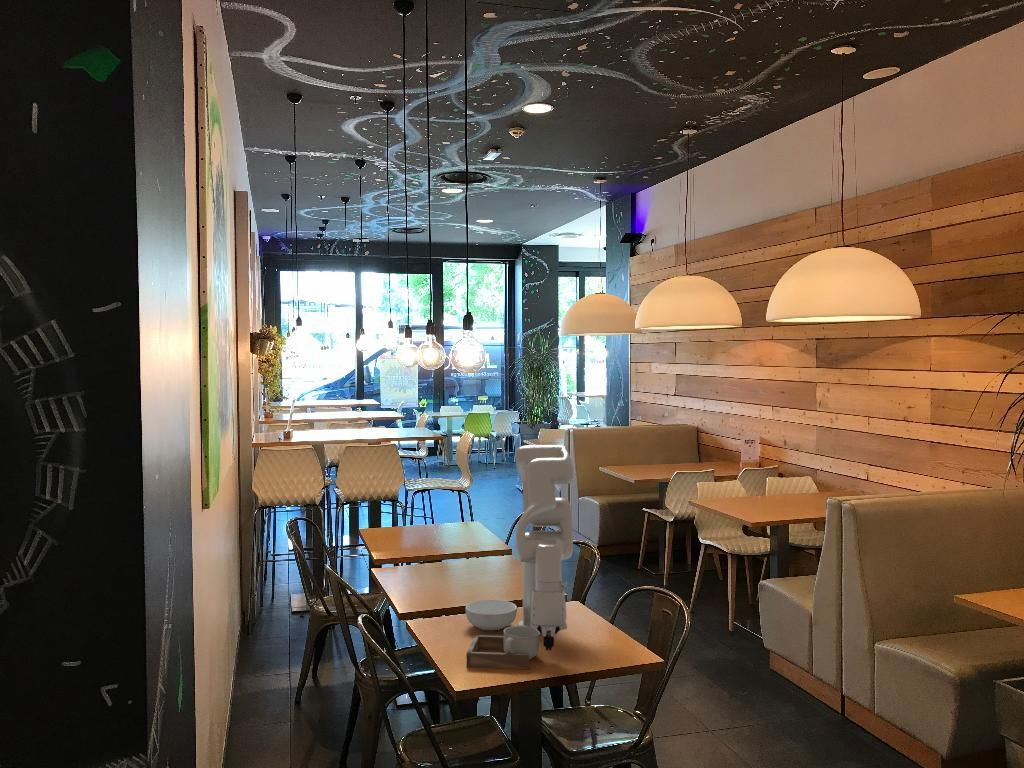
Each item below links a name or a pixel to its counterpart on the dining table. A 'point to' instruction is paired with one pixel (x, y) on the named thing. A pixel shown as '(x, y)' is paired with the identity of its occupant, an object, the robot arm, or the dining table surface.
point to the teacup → (521, 640)
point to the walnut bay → (494, 654)
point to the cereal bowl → (491, 614)
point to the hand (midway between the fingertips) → (548, 648)
